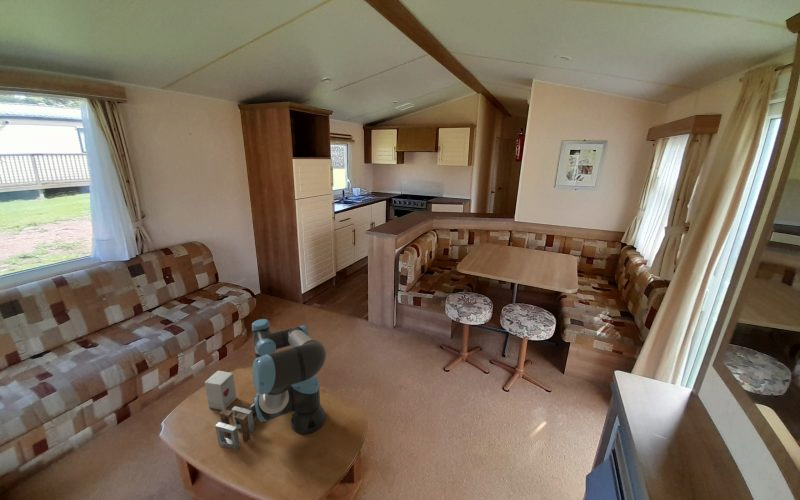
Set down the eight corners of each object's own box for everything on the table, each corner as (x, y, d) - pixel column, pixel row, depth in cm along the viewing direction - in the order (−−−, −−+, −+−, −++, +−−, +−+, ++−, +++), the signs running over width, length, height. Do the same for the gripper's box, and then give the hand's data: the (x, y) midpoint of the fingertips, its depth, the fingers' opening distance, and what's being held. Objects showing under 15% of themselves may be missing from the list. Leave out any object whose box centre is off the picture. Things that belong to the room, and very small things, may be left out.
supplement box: (224, 411, 152) (220, 385, 148) (208, 407, 154) (203, 382, 149) (237, 397, 160) (233, 372, 156) (222, 394, 162) (217, 369, 158)
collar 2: (254, 429, 142) (251, 410, 139) (251, 432, 141) (248, 413, 137) (237, 424, 145) (234, 406, 142) (234, 428, 143) (231, 409, 140)
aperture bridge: (250, 438, 138) (247, 415, 134) (247, 442, 136) (243, 419, 132) (227, 431, 141) (223, 408, 137) (223, 435, 139) (219, 413, 135)
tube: (264, 395, 158) (263, 388, 157) (272, 397, 157) (271, 390, 156) (241, 420, 143) (240, 413, 142) (249, 422, 142) (248, 415, 141)
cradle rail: (274, 400, 159) (273, 396, 158) (253, 424, 145) (252, 420, 144) (266, 399, 160) (266, 394, 159) (245, 422, 146) (244, 417, 145)
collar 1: (240, 446, 134) (236, 426, 131) (236, 450, 132) (233, 430, 129) (222, 441, 136) (218, 421, 133) (218, 445, 135) (215, 425, 131)
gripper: (266, 341, 157) (271, 381, 164) (247, 357, 145) (253, 399, 152) (279, 344, 155) (283, 384, 162) (261, 360, 143) (266, 402, 150)
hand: (269, 391), depth 157 cm, fingers closed
